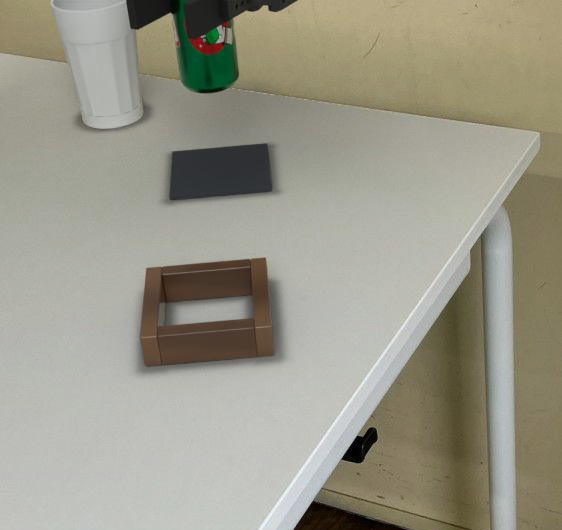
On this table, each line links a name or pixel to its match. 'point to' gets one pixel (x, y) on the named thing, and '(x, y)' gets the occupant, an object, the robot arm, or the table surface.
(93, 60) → the cup
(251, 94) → the table surface
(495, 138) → the table surface
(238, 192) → the mat
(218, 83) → the soda can
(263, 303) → the collar stand
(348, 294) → the table surface
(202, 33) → the robot arm
